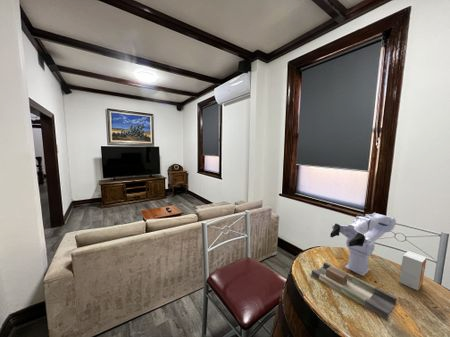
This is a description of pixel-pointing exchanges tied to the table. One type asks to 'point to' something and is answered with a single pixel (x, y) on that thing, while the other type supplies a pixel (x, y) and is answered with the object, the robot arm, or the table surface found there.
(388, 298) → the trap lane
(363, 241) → the robot arm
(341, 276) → the walnut block
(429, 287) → the table surface
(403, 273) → the small box
